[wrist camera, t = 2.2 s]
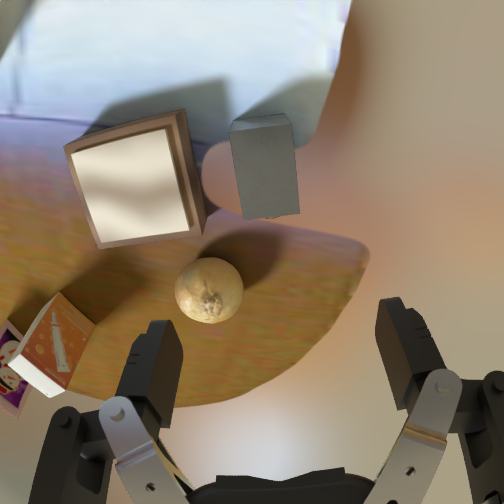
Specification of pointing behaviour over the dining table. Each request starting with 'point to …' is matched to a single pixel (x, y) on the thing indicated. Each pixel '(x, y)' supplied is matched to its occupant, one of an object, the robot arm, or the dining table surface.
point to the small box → (52, 346)
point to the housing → (265, 166)
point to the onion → (209, 290)
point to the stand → (139, 181)
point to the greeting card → (11, 373)
